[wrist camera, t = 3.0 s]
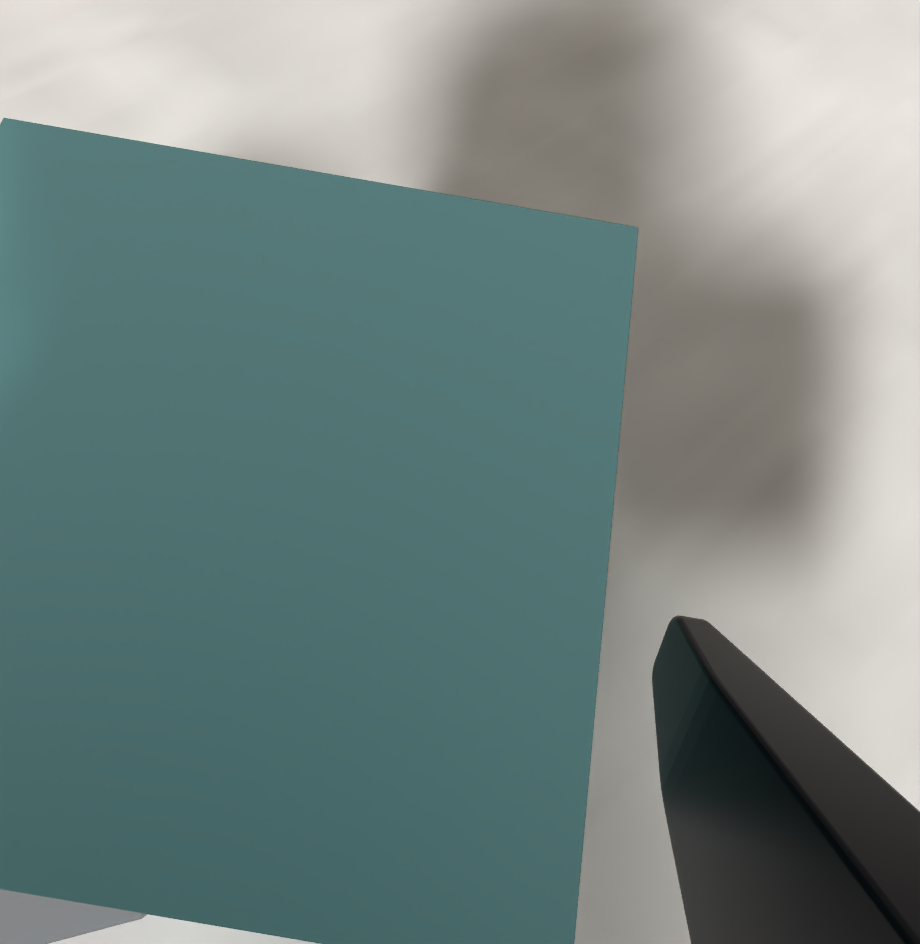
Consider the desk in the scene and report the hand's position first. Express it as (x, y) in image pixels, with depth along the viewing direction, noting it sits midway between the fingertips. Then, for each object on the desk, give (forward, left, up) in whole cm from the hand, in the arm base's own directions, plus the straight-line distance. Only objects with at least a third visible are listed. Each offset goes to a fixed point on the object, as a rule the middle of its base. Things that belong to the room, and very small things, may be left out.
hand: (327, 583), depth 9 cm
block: (0, 0, -8) cm, 8 cm away
